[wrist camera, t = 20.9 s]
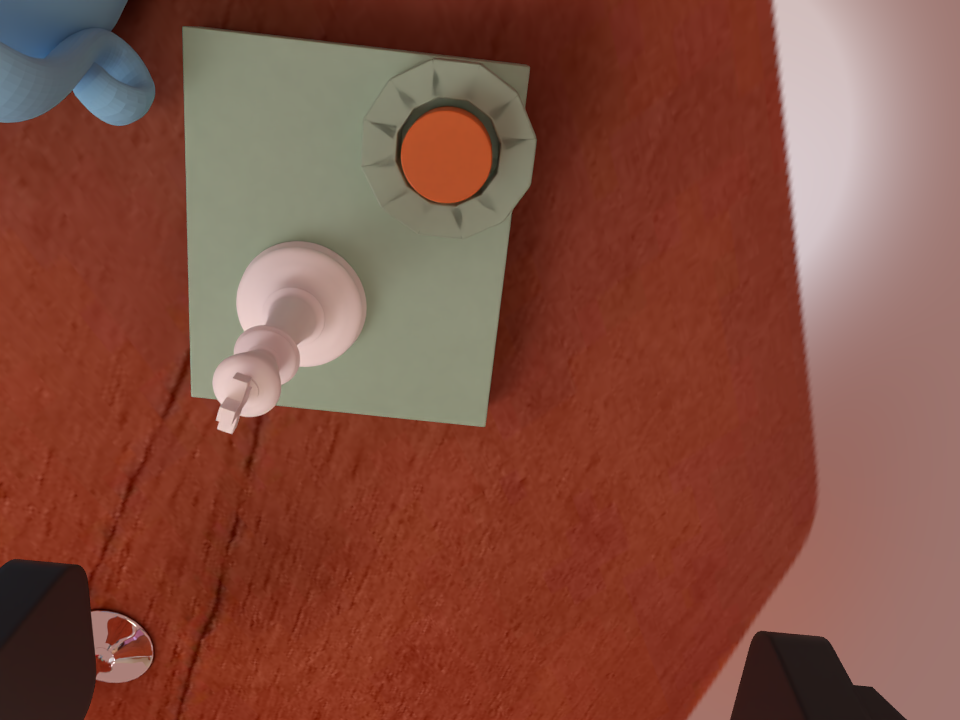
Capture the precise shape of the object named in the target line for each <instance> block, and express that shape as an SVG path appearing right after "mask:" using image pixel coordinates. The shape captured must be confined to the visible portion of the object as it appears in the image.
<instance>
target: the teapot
mask: <svg viewBox="0 0 960 720" xmlns="http://www.w3.org/2000/svg"><path fill="white" fill-rule="evenodd" d="M127 1H128V0H0V122H5V123H10V122H21V121H25V120H29V119H33V118H35V117H37V116H40V115H42V114H44V113H46V112H47V111H49V110H50V109H52V108H53V107H55V106H56V105H57V104H59V103H60V102H61V101H62V100H63V99H64V98H65V97H66V96H67V95H68V94H69V93H70V92H71V91H72V90H73V92H74V94H75V96H76V97H77V98H78V99H79V100H80V102H81V103H82V104H83V105H84V106H85V107H86V108H87V109H88V110H89V111H90V112H91V113H92V114H94V115H95V116H96V117H98V118H99V119H100V120H102V121H104V122H106V123H108V124H111V125H116V126H122V125H127V124H130V123H132V122H135V121H137V120H138V119H140V118H141V117H143V116H144V115H145V114H146V113H147V112H148V110H149V108H150V106H151V105H152V103H153V100H154V98H155V85H154V82H153V80H152V78H151V75H150V73H149V71H148V69H147V67H146V66H145V64H144V62H143V61H142V60H141V58H140V57H139V55H138V54H137V53H136V52H135V51H134V50H133V48H132V47H131V46H130V45H129V44H128V43H126V42H125V41H124V40H123V39H122V38H120V37H119V36H117V35H116V34H114V33H112V32H111V31H112V29H113V28H114V26H115V25H116V23H117V22H118V20H119V18H120V16H121V14H122V11H123V9H124V7H125V5H126V3H127Z"/></svg>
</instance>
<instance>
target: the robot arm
mask: <svg viewBox="0 0 960 720" xmlns="http://www.w3.org/2000/svg"><path fill="white" fill-rule="evenodd" d="M95 681H96V657H95V647H94V637H93V627H92V618H91V608H90V598H89V588H88V580H87V575H86V572H85V571H84V569H83V568H82V567H81V566H79V565H74V564H64V563H53V562H42V561H32V560H21V559H14V560H11V561H9V562H7V563H5V564H4V565H3V566H2V567H1V568H0V720H84V718H85V715H86V713H87V711H88V708H89V706H90V703H91V699H92V696H93V692H94V687H95ZM730 720H906V719H905V718H904V717H903V716H902V715H901V714H900V713H899V712H898V711H897V710H896V709H895V708H894V707H893V706H892V705H890V704H889V703H888V702H887V701H886V700H885V699H884V698H883V697H882V696H881V695H880V694H879V693H878V692H877V691H876V690H875V689H874V688H873V687H867V686H856V685H853V684H852V682H851V680H850V678H849V676H848V674H847V673H846V671H845V669H844V667H843V665H842V663H841V662H840V660H839V658H838V656H837V654H836V652H835V650H834V649H833V647H832V645H831V644H830V642H829V641H828V640H827V639H825V638H824V637H820V636H809V635H798V634H787V633H777V632H767V631H760V632H757V633H756V634H755V636H754V637H753V639H752V641H751V644H750V647H749V651H748V655H747V659H746V662H745V666H744V670H743V674H742V678H741V681H740V685H739V689H738V693H737V696H736V700H735V704H734V708H733V711H732V715H731V719H730Z"/></svg>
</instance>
